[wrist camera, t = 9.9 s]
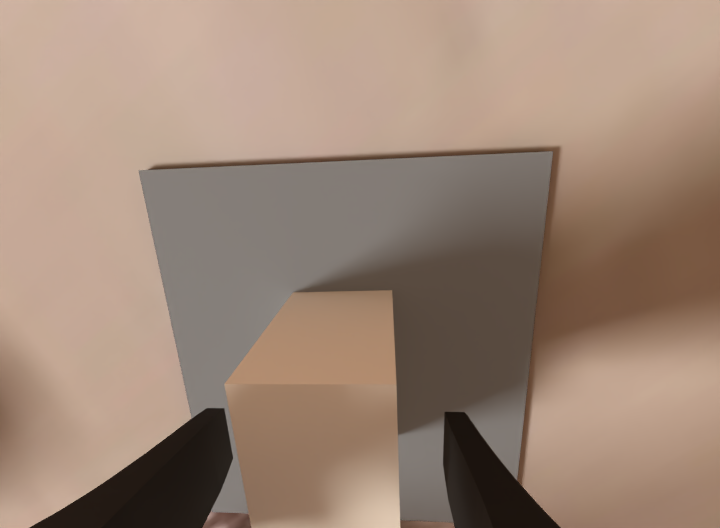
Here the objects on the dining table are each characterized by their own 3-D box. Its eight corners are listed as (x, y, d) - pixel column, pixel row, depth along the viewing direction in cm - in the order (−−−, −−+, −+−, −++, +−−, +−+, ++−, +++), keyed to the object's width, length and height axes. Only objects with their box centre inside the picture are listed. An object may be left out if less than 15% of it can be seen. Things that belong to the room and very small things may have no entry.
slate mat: (509, 516, 16) (512, 525, 16) (215, 504, 18) (211, 511, 17) (547, 151, 12) (553, 151, 11) (145, 170, 13) (138, 170, 13)
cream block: (392, 290, 13) (396, 384, 7) (396, 435, 15) (402, 600, 9) (293, 292, 14) (224, 384, 8) (309, 434, 15) (263, 592, 10)
